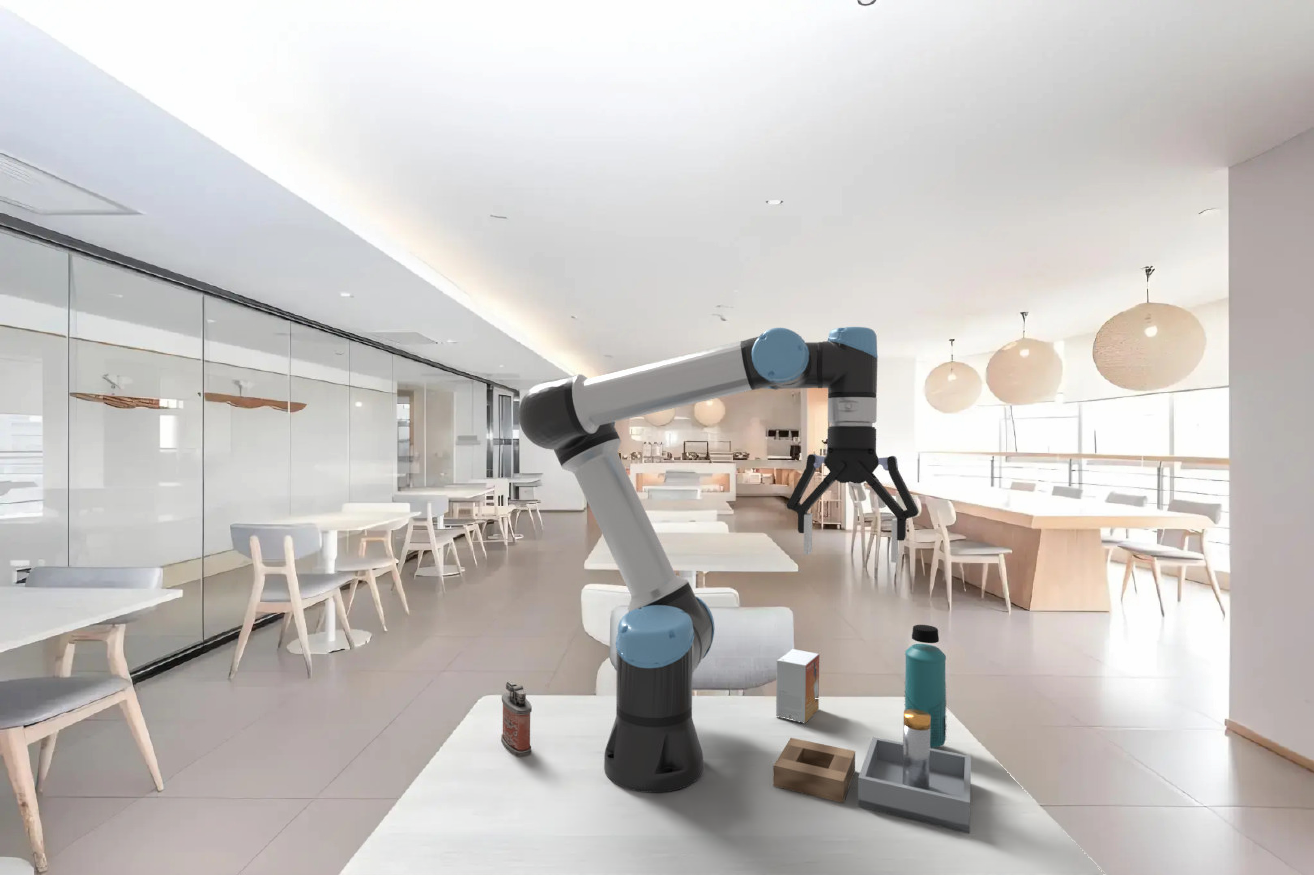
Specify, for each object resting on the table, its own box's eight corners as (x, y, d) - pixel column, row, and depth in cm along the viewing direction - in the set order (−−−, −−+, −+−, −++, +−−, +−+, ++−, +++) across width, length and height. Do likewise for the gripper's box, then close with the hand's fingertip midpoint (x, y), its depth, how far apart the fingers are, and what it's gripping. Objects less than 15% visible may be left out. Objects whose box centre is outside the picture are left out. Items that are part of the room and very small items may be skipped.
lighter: (535, 753, 107) (536, 691, 107) (515, 759, 105) (516, 695, 105) (516, 734, 114) (516, 675, 114) (496, 739, 112) (497, 679, 112)
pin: (901, 790, 95) (902, 716, 95) (903, 778, 99) (904, 707, 99) (928, 796, 94) (929, 721, 94) (929, 784, 97) (931, 712, 97)
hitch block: (773, 785, 98) (773, 765, 98) (790, 756, 107) (790, 737, 107) (843, 802, 94) (843, 781, 94) (855, 770, 103) (855, 751, 103)
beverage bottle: (950, 759, 107) (952, 633, 107) (906, 754, 108) (908, 630, 108) (941, 740, 113) (943, 622, 113) (900, 736, 115) (901, 619, 114)
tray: (857, 806, 93) (858, 777, 93) (872, 762, 106) (872, 736, 106) (969, 833, 87) (969, 802, 87) (970, 783, 100) (970, 756, 100)
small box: (805, 725, 119) (805, 665, 119) (775, 717, 122) (775, 659, 122) (819, 709, 126) (820, 653, 126) (791, 702, 129) (791, 648, 129)
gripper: (769, 424, 110) (767, 554, 110) (934, 425, 99) (932, 568, 99) (781, 425, 117) (780, 547, 117) (937, 425, 106) (935, 560, 106)
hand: (850, 557), depth 108 cm, fingers open, 13 cm apart
